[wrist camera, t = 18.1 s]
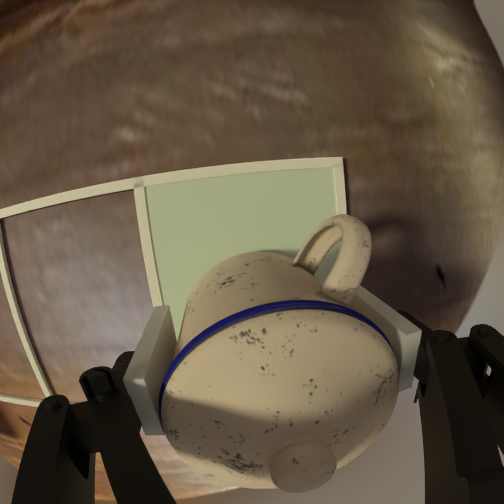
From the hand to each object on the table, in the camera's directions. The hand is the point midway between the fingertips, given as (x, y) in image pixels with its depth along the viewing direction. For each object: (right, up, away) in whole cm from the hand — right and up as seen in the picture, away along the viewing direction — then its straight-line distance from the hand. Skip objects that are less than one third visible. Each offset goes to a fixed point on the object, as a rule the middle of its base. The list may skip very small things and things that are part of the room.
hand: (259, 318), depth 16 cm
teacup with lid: (+1, +1, +2) cm, 3 cm away
